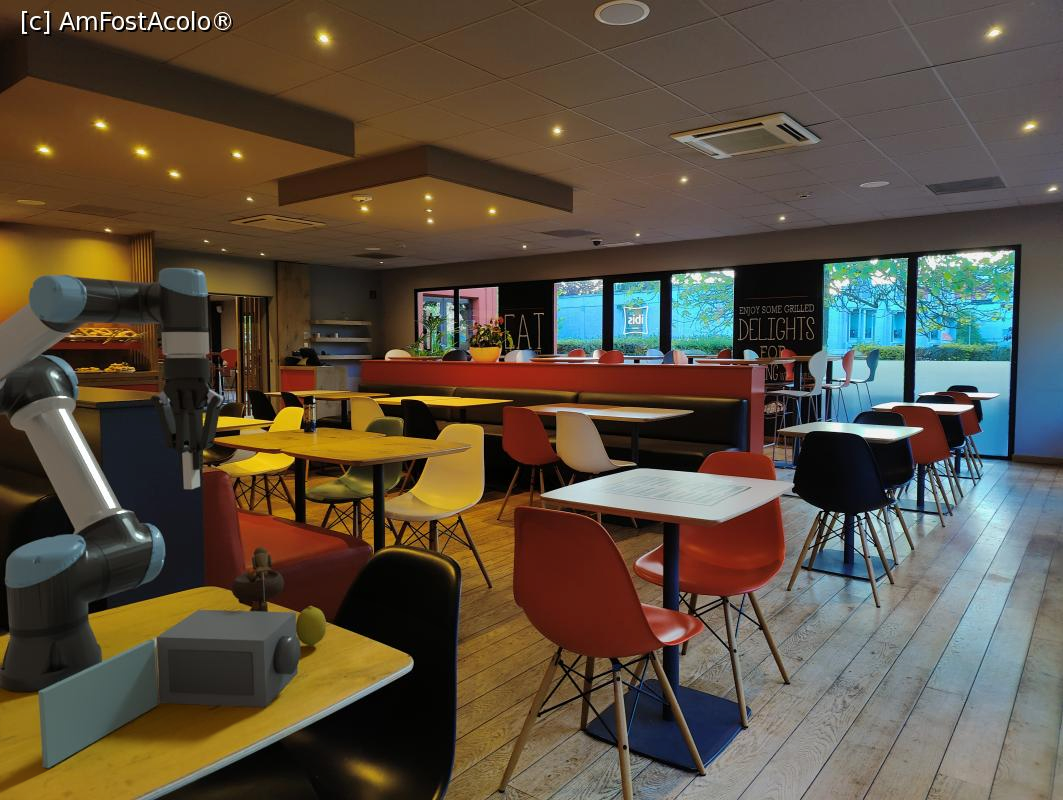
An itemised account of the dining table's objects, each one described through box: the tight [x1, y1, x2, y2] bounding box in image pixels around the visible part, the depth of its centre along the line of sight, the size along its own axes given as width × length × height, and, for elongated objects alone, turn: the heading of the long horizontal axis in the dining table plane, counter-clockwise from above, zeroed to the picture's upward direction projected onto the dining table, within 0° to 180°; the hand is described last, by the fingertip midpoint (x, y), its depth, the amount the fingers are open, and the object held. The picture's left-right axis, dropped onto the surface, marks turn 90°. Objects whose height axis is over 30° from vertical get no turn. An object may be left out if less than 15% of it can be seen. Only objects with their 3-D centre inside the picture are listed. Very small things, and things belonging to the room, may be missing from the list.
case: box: [156, 609, 301, 708], centre depth 119 cm, size 20×12×11 cm, turn 85°
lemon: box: [296, 605, 327, 648], centre depth 136 cm, size 6×6×8 cm
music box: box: [231, 546, 285, 612], centre depth 135 cm, size 15×11×20 cm
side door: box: [37, 637, 160, 769], centre depth 105 cm, size 19×2×11 cm, turn 161°
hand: (192, 487), depth 128 cm, fingers closed
